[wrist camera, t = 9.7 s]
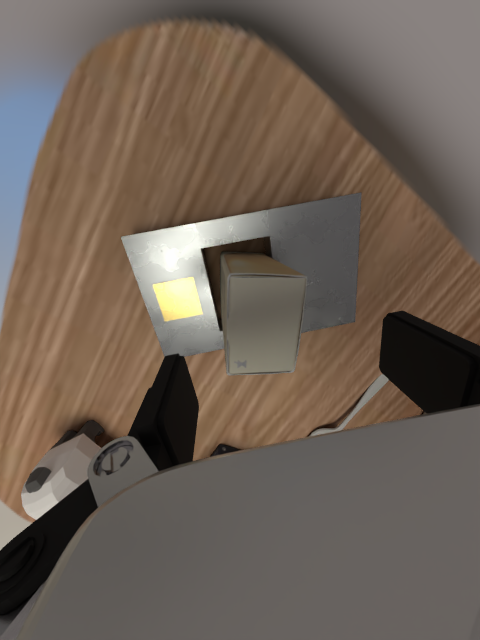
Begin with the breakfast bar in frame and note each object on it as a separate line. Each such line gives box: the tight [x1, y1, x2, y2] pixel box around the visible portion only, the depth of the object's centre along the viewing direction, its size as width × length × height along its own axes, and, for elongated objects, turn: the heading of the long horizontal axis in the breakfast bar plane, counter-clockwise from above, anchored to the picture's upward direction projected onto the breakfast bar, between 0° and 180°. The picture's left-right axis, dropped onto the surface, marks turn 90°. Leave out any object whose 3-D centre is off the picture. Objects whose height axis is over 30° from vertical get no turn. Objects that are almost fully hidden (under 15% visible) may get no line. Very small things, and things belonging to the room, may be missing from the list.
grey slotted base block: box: [121, 193, 361, 357], centre depth 22 cm, size 20×12×3 cm, turn 100°
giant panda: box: [21, 420, 104, 520], centre depth 27 cm, size 15×6×10 cm, turn 27°
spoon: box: [309, 374, 389, 437], centre depth 33 cm, size 4×21×2 cm, turn 143°
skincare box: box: [220, 251, 307, 375], centre depth 18 cm, size 6×4×12 cm
